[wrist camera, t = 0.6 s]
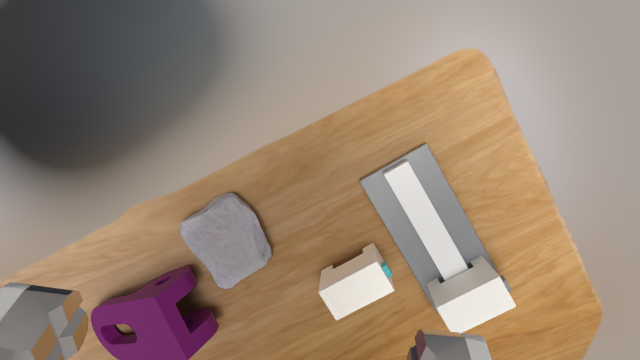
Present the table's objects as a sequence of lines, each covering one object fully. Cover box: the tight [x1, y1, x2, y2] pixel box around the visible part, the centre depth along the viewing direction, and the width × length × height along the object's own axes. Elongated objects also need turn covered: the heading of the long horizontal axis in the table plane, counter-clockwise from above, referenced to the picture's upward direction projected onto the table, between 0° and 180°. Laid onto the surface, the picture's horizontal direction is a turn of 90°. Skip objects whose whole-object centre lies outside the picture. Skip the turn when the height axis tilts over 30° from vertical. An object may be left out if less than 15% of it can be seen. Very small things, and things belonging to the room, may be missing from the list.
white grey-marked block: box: [426, 256, 516, 333], centre depth 55 cm, size 4×9×7 cm, turn 121°
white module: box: [319, 243, 395, 321], centre depth 57 cm, size 4×9×7 cm, turn 121°
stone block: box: [180, 192, 272, 289], centre depth 59 cm, size 12×5×10 cm
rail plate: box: [359, 143, 499, 313], centre depth 57 cm, size 22×10×2 cm, turn 31°
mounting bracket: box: [91, 266, 219, 360], centre depth 61 cm, size 9×8×18 cm
